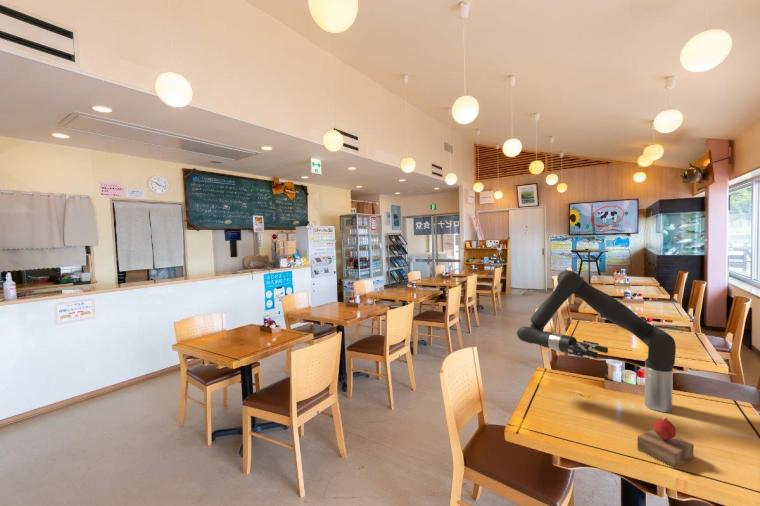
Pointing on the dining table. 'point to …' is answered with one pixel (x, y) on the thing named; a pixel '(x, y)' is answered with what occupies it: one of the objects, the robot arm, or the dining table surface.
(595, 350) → the robot arm
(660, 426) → the onion
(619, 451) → the dining table surface
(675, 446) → the walnut block
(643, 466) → the dining table surface
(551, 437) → the dining table surface
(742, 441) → the dining table surface
